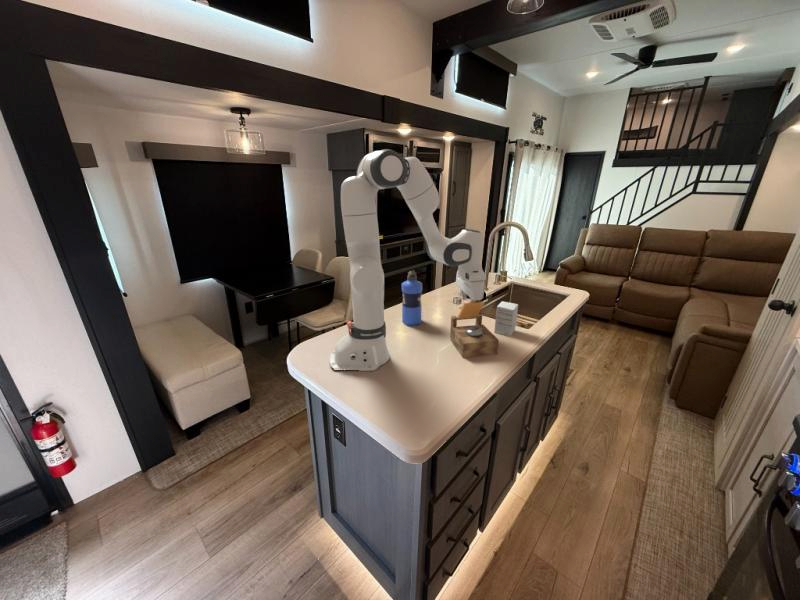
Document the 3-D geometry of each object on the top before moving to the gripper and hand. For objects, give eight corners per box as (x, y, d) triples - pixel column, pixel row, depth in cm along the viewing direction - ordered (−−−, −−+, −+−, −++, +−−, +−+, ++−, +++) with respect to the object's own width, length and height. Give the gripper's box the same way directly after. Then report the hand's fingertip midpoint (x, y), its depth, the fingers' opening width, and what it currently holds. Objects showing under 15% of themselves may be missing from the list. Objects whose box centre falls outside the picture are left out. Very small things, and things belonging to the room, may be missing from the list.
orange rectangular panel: (464, 305, 118) (464, 303, 119) (457, 320, 128) (456, 318, 128) (484, 304, 119) (483, 301, 120) (475, 318, 129) (474, 316, 130)
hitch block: (462, 357, 116) (464, 333, 112) (448, 337, 131) (449, 316, 128) (497, 353, 118) (499, 330, 115) (479, 334, 133) (481, 313, 130)
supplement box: (498, 326, 141) (501, 300, 136) (515, 330, 137) (519, 304, 132) (493, 332, 135) (496, 306, 131) (510, 337, 131) (514, 309, 127)
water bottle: (401, 326, 142) (401, 273, 133) (402, 317, 151) (401, 268, 142) (421, 326, 142) (422, 273, 133) (421, 317, 151) (422, 268, 142)
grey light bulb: (468, 350, 120) (469, 334, 117) (462, 342, 126) (463, 327, 123) (483, 348, 121) (485, 332, 118) (477, 341, 127) (478, 325, 124)
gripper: (452, 264, 131) (451, 295, 136) (472, 278, 112) (469, 313, 117) (467, 263, 132) (465, 293, 137) (488, 277, 113) (485, 311, 118)
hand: (467, 302), depth 127 cm, fingers open, 7 cm apart
